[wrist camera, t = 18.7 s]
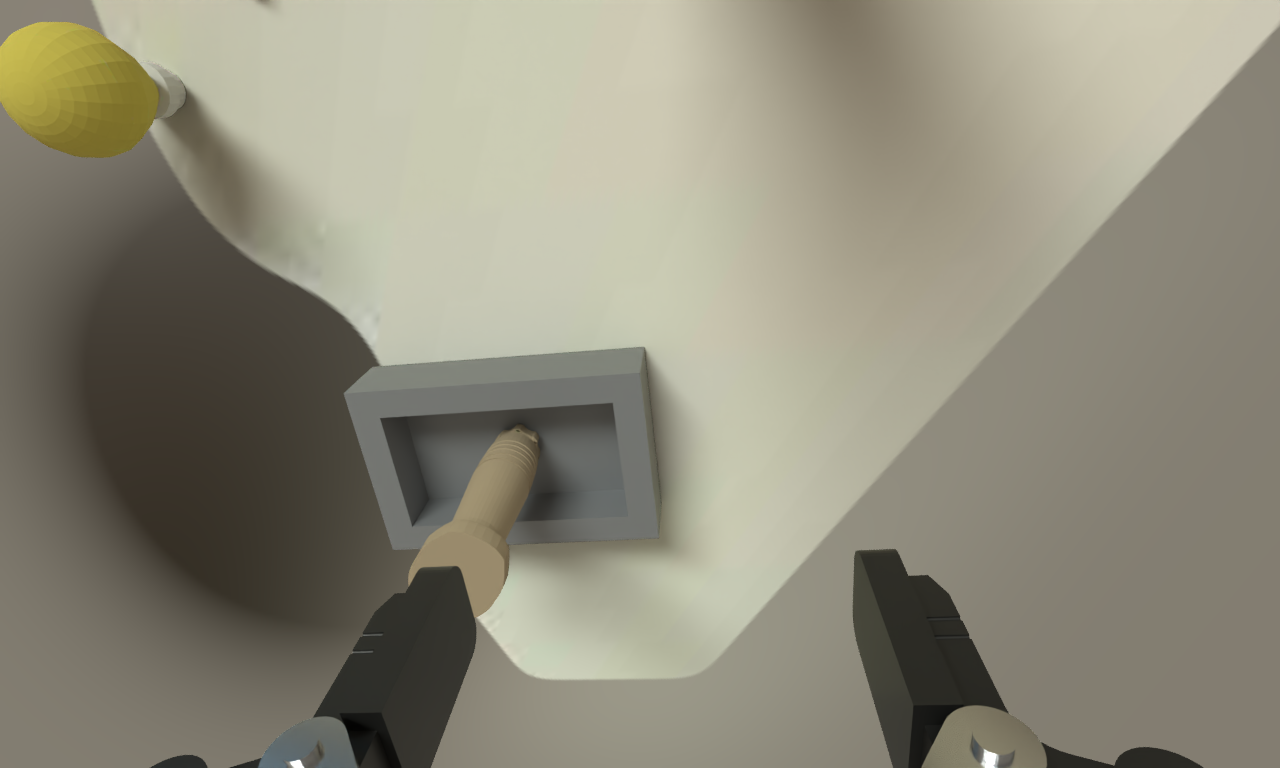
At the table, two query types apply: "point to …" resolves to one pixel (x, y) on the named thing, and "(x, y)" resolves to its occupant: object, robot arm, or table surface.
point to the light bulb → (82, 89)
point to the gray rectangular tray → (499, 400)
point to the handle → (486, 518)
